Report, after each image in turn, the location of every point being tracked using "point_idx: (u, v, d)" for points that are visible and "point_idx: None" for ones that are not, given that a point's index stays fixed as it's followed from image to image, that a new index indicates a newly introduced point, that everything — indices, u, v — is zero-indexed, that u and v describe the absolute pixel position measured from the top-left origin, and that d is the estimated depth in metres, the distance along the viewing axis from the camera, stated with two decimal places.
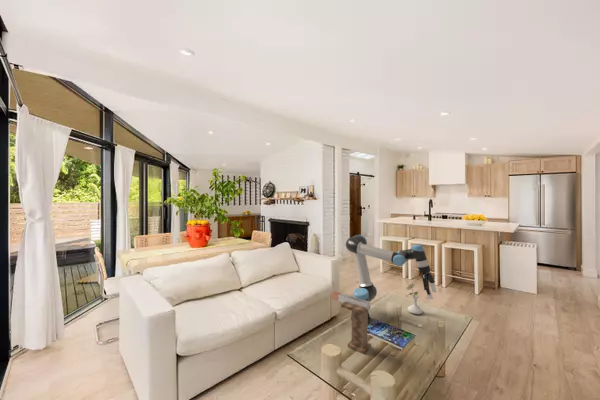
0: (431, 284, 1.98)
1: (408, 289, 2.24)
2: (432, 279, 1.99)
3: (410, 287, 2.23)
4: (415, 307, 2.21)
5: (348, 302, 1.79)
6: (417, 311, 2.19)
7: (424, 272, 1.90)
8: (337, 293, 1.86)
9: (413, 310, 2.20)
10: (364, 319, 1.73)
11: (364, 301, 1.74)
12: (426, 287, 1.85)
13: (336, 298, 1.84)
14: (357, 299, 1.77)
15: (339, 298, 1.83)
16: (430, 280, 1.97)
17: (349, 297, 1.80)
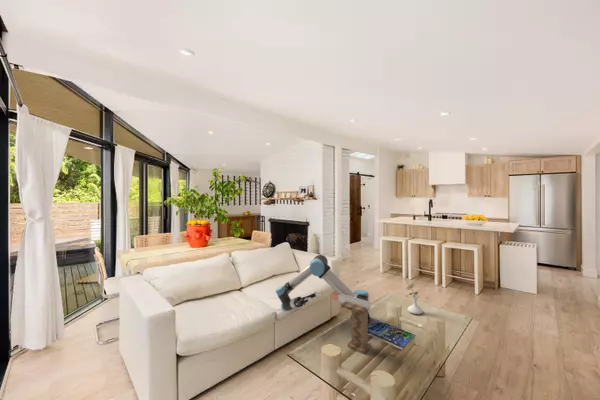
0: None
1: (408, 289, 2.24)
2: None
3: (410, 287, 2.22)
4: (415, 307, 2.21)
5: (348, 302, 1.79)
6: (417, 311, 2.19)
7: None
8: (337, 293, 1.86)
9: (413, 310, 2.20)
10: (364, 319, 1.73)
11: (364, 301, 1.74)
12: None
13: (336, 298, 1.84)
14: (357, 299, 1.77)
15: (339, 298, 1.83)
16: None
17: (349, 297, 1.80)
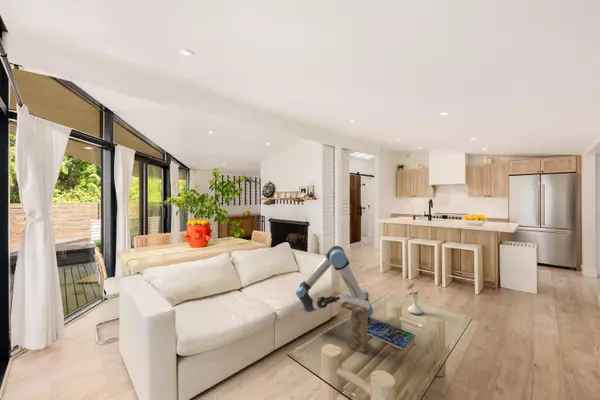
0: None
1: (408, 289, 2.24)
2: None
3: (410, 287, 2.23)
4: (415, 307, 2.21)
5: (348, 302, 1.79)
6: (417, 311, 2.19)
7: None
8: (337, 293, 1.86)
9: (413, 310, 2.20)
10: (364, 319, 1.73)
11: (364, 301, 1.74)
12: None
13: None
14: (357, 299, 1.77)
15: None
16: None
17: (349, 297, 1.80)
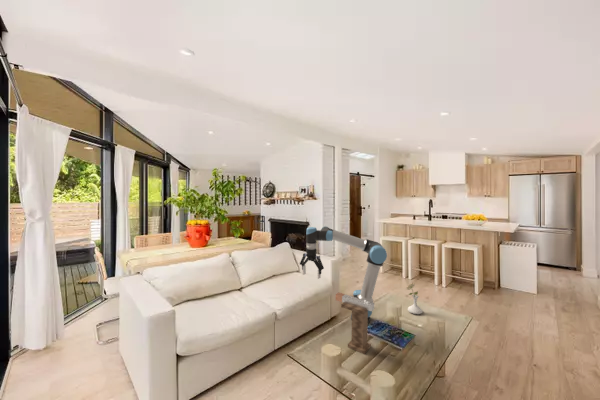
0: None
1: (408, 289, 2.24)
2: (320, 267, 1.94)
3: (410, 287, 2.23)
4: (415, 307, 2.21)
5: (352, 303, 1.77)
6: (417, 311, 2.19)
7: None
8: (341, 294, 1.84)
9: (413, 310, 2.20)
10: (364, 319, 1.73)
11: (368, 302, 1.72)
12: None
13: (340, 299, 1.82)
14: (361, 300, 1.75)
15: (343, 299, 1.81)
16: None
17: (353, 298, 1.78)
